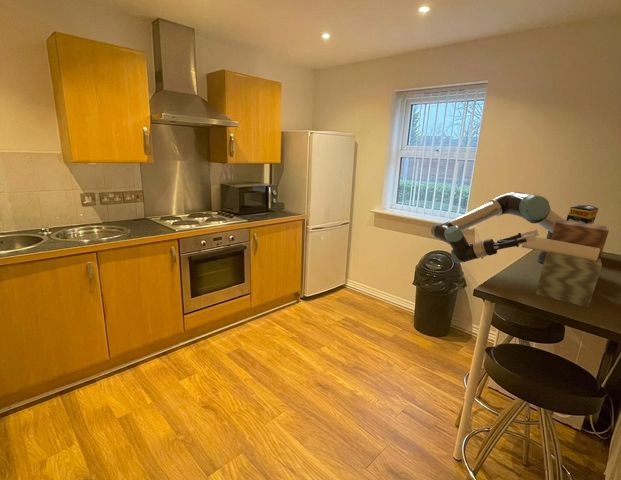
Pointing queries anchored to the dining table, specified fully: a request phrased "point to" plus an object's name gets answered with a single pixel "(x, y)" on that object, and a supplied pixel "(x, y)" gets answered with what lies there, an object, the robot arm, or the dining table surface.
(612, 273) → the dining table surface
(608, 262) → the dining table surface
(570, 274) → the two-tone wood block
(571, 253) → the white long bar
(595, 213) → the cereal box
